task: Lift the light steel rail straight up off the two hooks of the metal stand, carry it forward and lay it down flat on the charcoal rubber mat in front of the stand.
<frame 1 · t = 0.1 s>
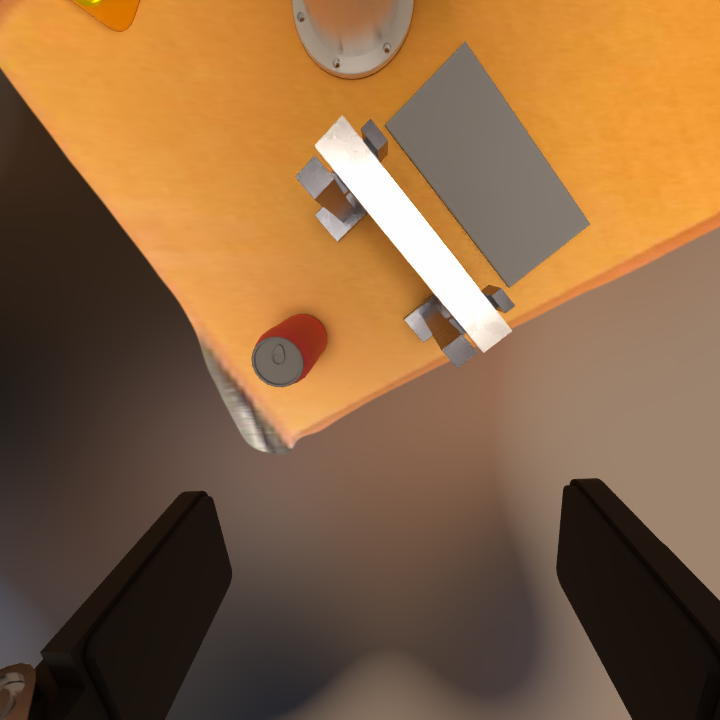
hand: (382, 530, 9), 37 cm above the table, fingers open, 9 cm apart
mat: (488, 176, 39), on the table
rail: (415, 244, 30), point 12 cm above the table, touching hook stand
beer can: (304, 336, 46), on the table
hook stand: (389, 265, 42), on the table
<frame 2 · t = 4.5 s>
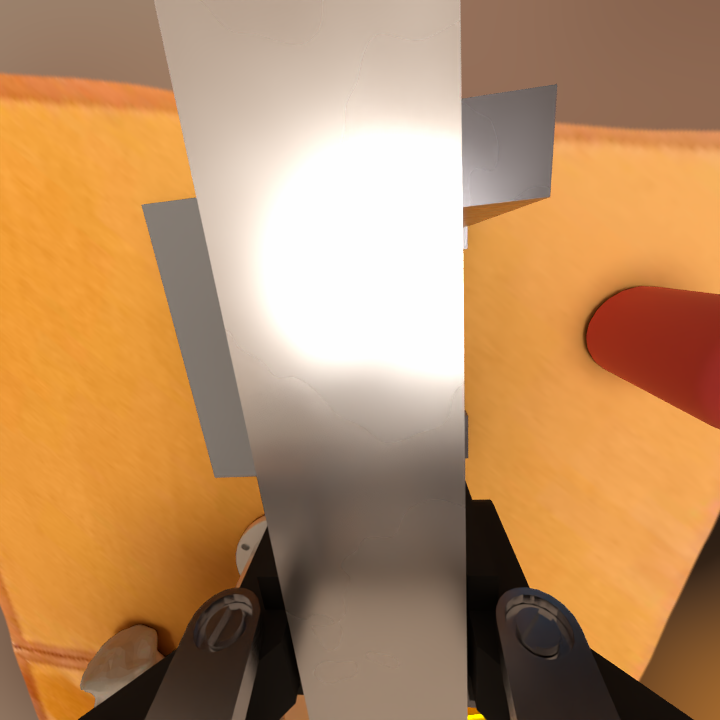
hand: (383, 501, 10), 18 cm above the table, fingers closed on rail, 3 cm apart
mat: (246, 352, 28), on the table
rail: (382, 534, 9), point 19 cm above the table, touching gripper
beer can: (626, 329, 25), on the table
element tile: (448, 711, 41), on the table
hook stand: (426, 338, 26), on the table
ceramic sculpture: (157, 651, 42), on the table
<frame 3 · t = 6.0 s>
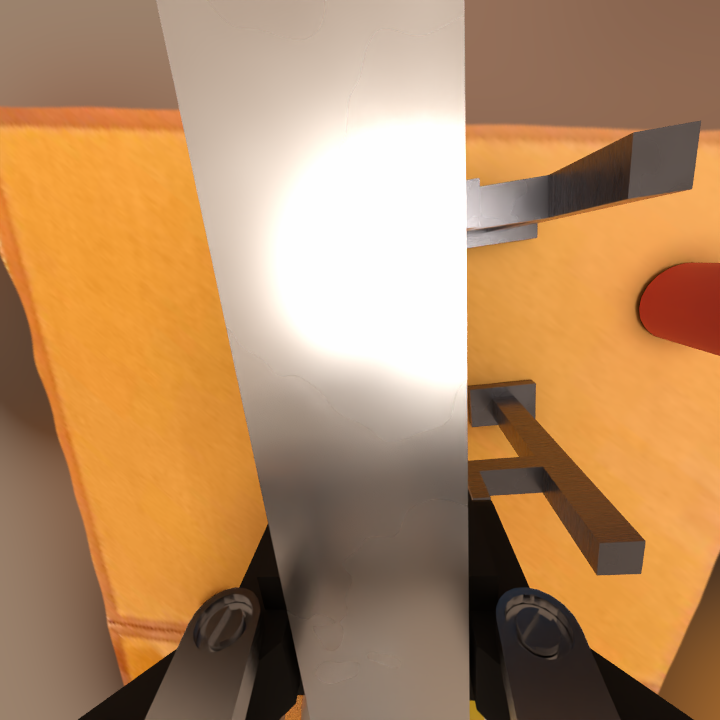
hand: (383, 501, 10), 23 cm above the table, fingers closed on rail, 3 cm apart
rail: (383, 534, 9), point 24 cm above the table, touching gripper
beer can: (673, 301, 29), on the table
hook stand: (497, 317, 31), on the table
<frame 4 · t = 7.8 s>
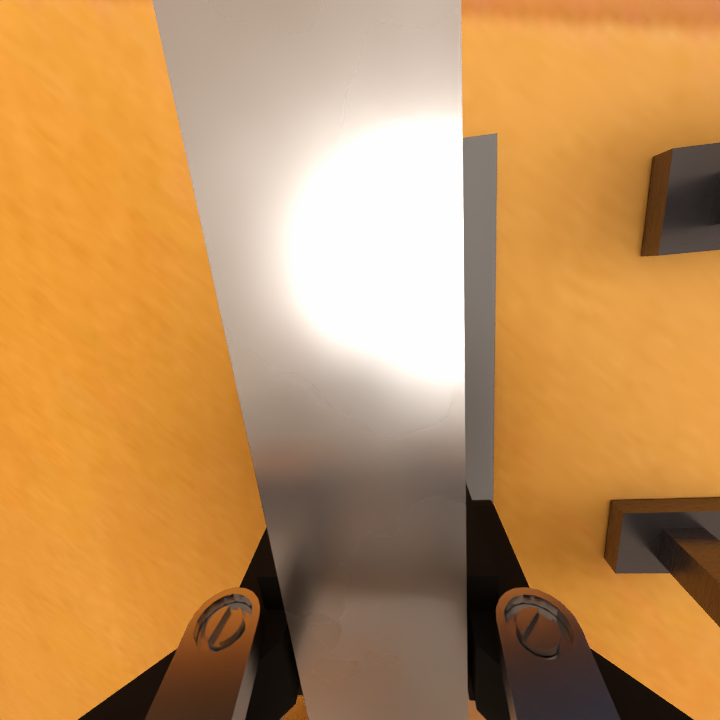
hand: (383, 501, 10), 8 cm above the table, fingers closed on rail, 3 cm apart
mat: (386, 404, 18), on the table
rail: (382, 533, 9), point 10 cm above the table, touching gripper
hook stand: (690, 387, 16), on the table
when the fingers open (1 cm above the table, at t = 9.3 s): rail drops 2 cm, resting on mat.
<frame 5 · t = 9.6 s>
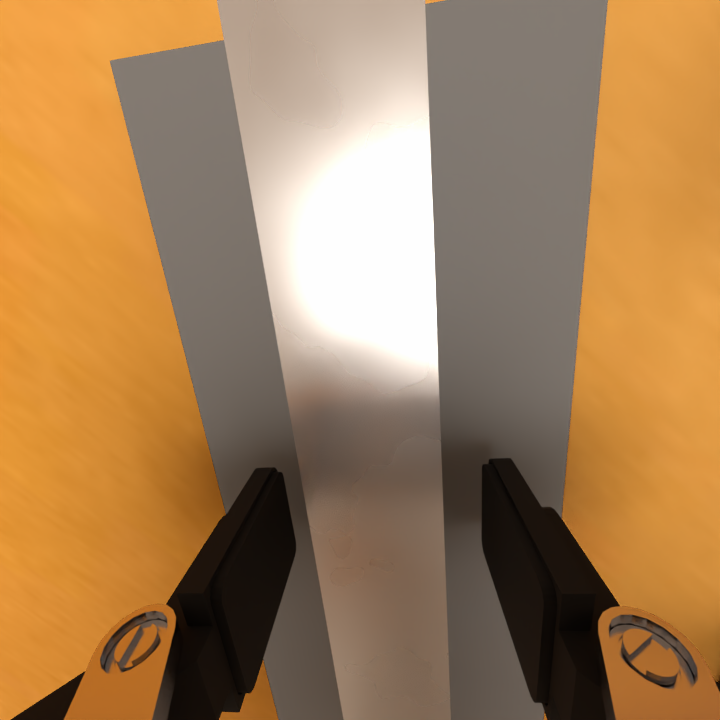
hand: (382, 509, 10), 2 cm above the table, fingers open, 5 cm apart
mat: (383, 476, 11), on the table
rail: (382, 488, 11), resting on mat
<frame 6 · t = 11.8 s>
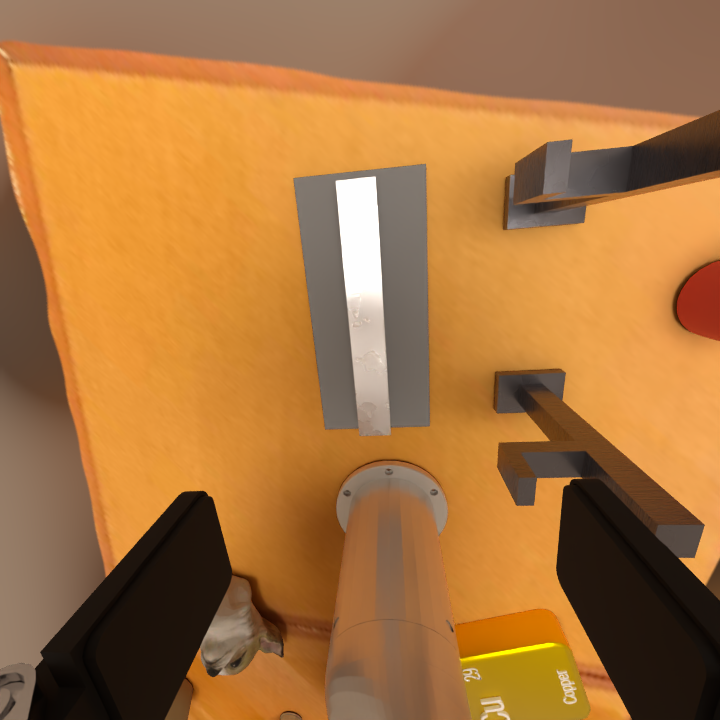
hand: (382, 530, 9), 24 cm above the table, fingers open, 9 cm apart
mat: (368, 314, 32), on the table
rail: (368, 315, 31), resting on mat
beer can: (710, 297, 29), on the table
element tile: (507, 650, 45), on the table
hook stand: (533, 303, 30), on the table
squeeze bottle: (176, 682, 53), on the table
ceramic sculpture: (243, 601, 46), on the table
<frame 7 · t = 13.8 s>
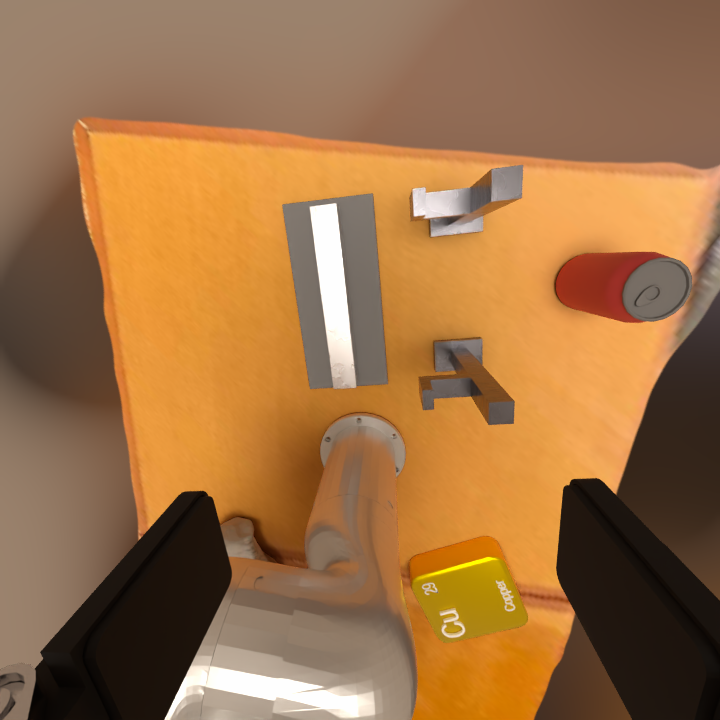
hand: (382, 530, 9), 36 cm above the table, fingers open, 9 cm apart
mat: (339, 299, 43), on the table
rail: (338, 300, 43), resting on mat
beer can: (580, 281, 41), on the table
element tile: (463, 576, 56), on the table
hook stand: (456, 289, 42), on the table
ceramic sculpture: (248, 541, 57), on the table
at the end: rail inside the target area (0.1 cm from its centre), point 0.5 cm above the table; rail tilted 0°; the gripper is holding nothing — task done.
